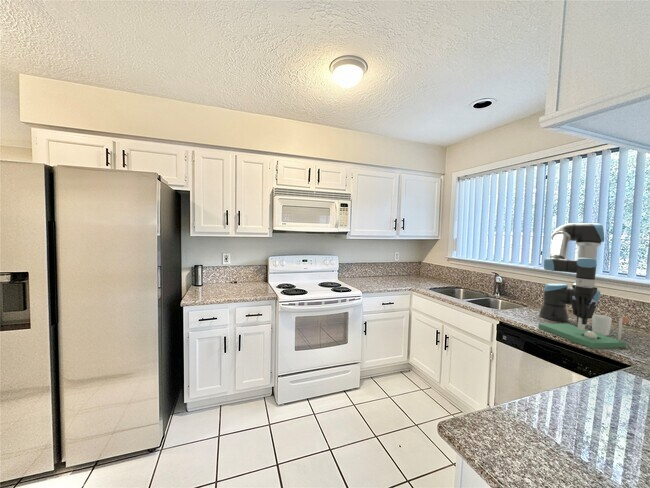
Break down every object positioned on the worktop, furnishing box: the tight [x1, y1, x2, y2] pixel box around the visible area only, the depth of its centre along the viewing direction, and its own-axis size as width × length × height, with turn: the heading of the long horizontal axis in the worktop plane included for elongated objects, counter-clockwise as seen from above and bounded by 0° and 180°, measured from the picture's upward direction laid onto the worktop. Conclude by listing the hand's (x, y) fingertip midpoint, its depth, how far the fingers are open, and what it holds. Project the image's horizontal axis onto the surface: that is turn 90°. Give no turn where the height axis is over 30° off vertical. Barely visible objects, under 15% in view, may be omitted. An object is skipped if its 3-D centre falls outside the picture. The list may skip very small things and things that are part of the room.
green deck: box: [538, 317, 629, 349], centre depth 146 cm, size 22×28×14 cm
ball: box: [584, 330, 597, 339], centre depth 141 cm, size 5×5×5 cm
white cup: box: [591, 313, 613, 337], centre depth 153 cm, size 8×8×10 cm
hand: (581, 329), depth 145 cm, fingers closed
